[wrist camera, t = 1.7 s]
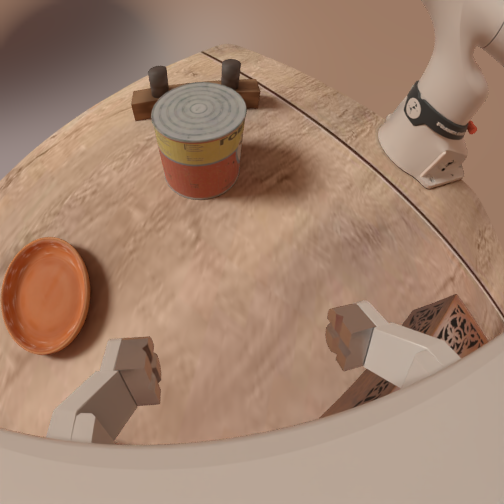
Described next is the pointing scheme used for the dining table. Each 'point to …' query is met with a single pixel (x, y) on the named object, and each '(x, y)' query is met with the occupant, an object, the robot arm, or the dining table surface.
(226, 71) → the bench stop
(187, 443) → the robot arm
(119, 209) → the dining table surface
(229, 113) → the canned food
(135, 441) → the dining table surface
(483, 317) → the dining table surface
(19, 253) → the saucer
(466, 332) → the tissue box cover
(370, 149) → the dining table surface
